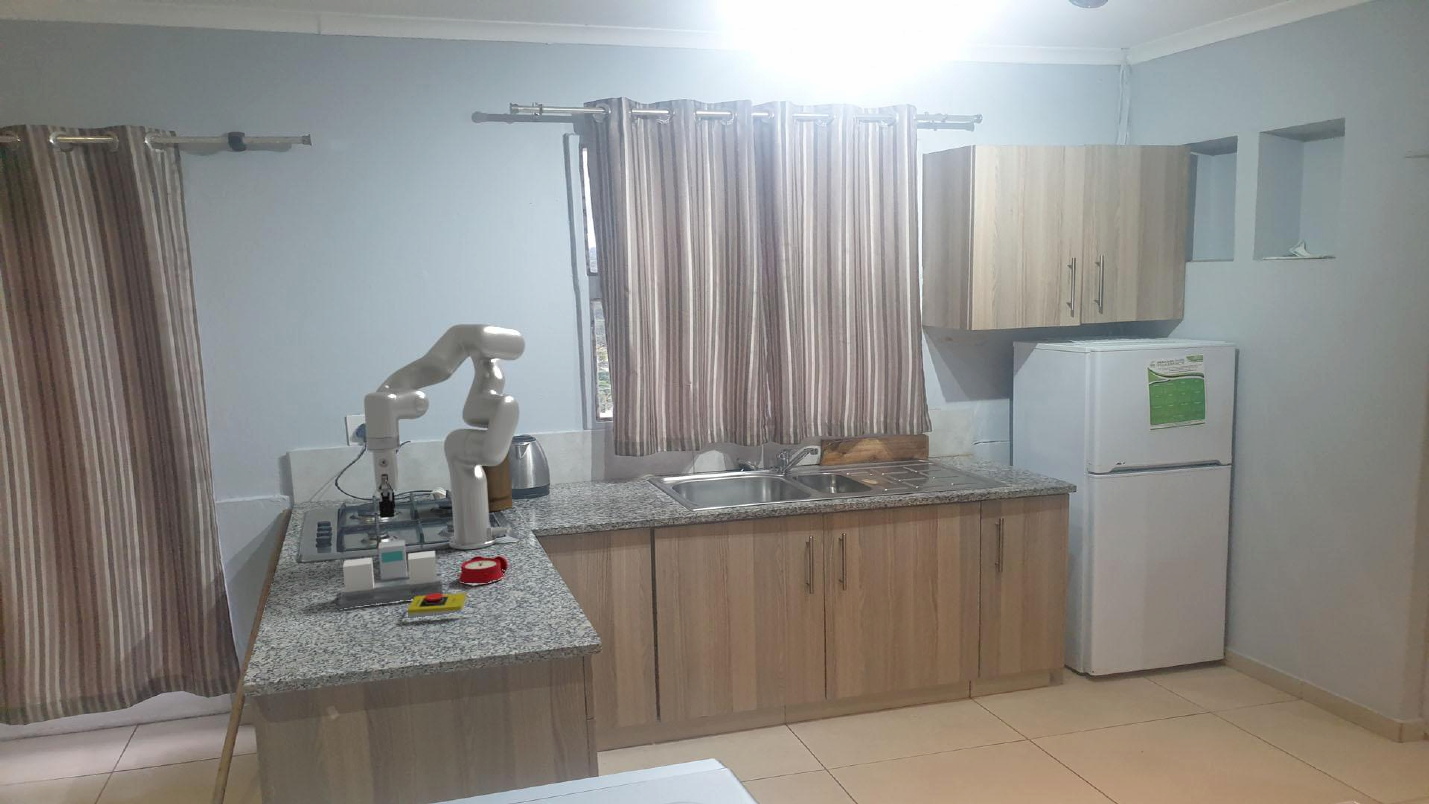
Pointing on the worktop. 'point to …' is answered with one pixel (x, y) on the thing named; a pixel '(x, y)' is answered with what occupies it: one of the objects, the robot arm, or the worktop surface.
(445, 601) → the emergency button
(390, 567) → the block
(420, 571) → the mounted modules
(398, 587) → the board
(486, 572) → the alarm clock
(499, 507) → the wooden container
